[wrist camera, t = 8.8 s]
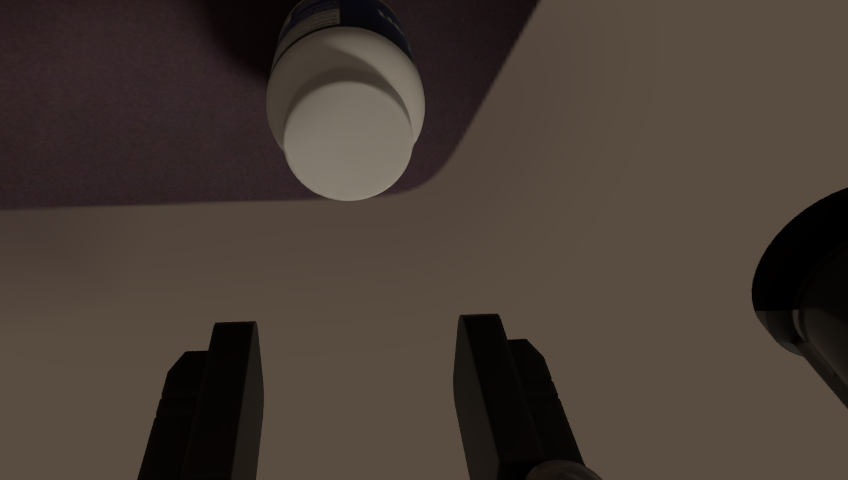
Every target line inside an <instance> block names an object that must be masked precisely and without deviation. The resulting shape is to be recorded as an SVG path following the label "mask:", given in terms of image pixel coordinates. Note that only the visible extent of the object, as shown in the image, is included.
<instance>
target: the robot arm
mask: <svg viewBox="0 0 848 480" xmlns="http://www.w3.org/2000/svg"><path fill="white" fill-rule="evenodd" d="M787 311H788V317H789V320H790V323H791V325H792V326H793V328H794V329H795V331H796V334H795V337H794V339H793V342H792V343H793V345H794V346H795V347H796V348H797V349H798V351H799V352H800V353H801V354H802V355H803V356H804V358H805V359H806V360H807V361H808V362H809V363H810V365H811V366H812V367H813V368H814V370H815V371H816V372H817V373H818V374H819V375H820V377H821V378H822V379H823V380H824V381H825V383H826V384H827V385H828V386H829V387H830V389H831V390H832V391H833V392H834V393H835V394H836V395H837V397H838V398H839V399H840V400H841V402H842V403H843V404H844V405H845V406H846V407H847V409H848V230H846V231H844V232H842V233H841V234H839V235H837V236H836V237H834V238H833V239H831V240H830V241H829V242H827V243H826V244H825V245H824V246H822V247H821V248H820V249H819V250H818V251H817V252H816V253H815V254H814V255H813V256H812V257H811V258H810V259H809V260H808V261H807V262H806V264H805V265H804V266H803V267H802V269H801V270H800V272H799V273H798V275H797V277H796V278H795V280H794V282H793V285H792V287H791V290H790V293H789V297H788V303H787ZM453 389H454V401H455V407H456V412H457V417H458V422H459V427H460V432H461V437H462V442H463V447H464V451H465V457H466V462H467V467H468V472H469V476H470V480H602V479H601V478H600V477H599V476H598V475H597V474H596V473H595V472H593V471H592V470H590V469H589V468H587V467H586V466H585V464H584V462H583V460H582V457H581V454H580V452H579V449H578V447H577V444H576V441H575V438H574V436H573V433H572V431H571V428H570V425H569V423H568V420H567V417H566V415H565V412H564V410H563V407H562V404H561V401H560V399H558V393H557V391H556V388H555V386H554V383H553V382H552V381H551V375H550V372H549V370H548V367H547V365H546V362H545V359H544V357H543V356H542V355H541V354H540V353H539V352H538V351H537V350H536V349H535V347H533V346H532V344H530V342H529V341H528V340H527V339H516V340H507V337H506V334H505V331H504V328H503V325H502V322H501V319H500V317H499V315H498V314H474V315H460V317H459V321H458V329H457V340H456V351H455V362H454V374H453ZM263 407H264V389H263V376H262V366H261V356H260V346H259V337H258V328H257V323H256V322H255V321H249V322H222V323H221V322H220V323H215V325H214V328H213V332H212V336H211V341H210V345H209V350H208V351H187V352H185V353H184V354H183V355H182V356H181V357H180V358H179V360H178V361H177V362H176V363H175V364H174V366H173V367H172V368H171V369H170V370H169V371H168V373H167V377H166V380H165V384H164V388H163V391H162V398H161V399H160V402H159V405H158V409H157V412H156V418H155V419H154V423H153V426H152V430H151V433H150V437H149V440H148V444H147V448H146V451H145V455H144V458H143V461H142V465H141V468H140V472H139V475H138V479H137V480H256V473H257V465H258V456H259V446H260V437H261V429H262V420H263Z"/></svg>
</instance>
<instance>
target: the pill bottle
mask: <svg viewBox="0 0 848 480" xmlns="http://www.w3.org/2000/svg"><path fill="white" fill-rule="evenodd" d="M266 109H267V118H268V122H269V126H270V128H271V131H272V133H273V135H274V138H275V140H276V141H277V143H278V145H279V146H280V148H281V149H282V150H283V151H284V154H285V157H286V160H287V163H288V165H289V167H290V168H291V170H292V172H293V173H294V175H295V176H296V177H297V178H298V179H299V180H300V182H301V183H302V184H304V185H305V186H306V187H307V188H309V189H310V190H312V191H313V192H315V193H317V194H319V195H322V196H324V197H327V198H331V199H335V200H342V201H356V200H361V199H366V198H369V197H372V196H375V195H377V194H379V193H381V192H383V191H385V190H386V189H388V188H389V187H390V186H391V185H392V184H394V183H395V182H396V181H397V180H398V179H399V177H400V176H401V175H402V173H403V172H404V170H405V169H406V167H407V165H408V162H409V160H410V157H411V153H412V148H413V146H414V144H415V142H416V140H417V138H418V136H419V134H420V131H421V128H422V124H423V120H424V113H425V100H424V92H423V87H422V83H421V78H420V76H419V72H418V70H417V67H416V63H415V60H414V57H413V54H412V50H411V48H410V45H409V42H408V39H407V36H406V33H405V30H404V28H403V26H402V24H401V22H400V20H399V19H398V17H397V16H396V14H395V13H394V12H393V11H392V9H391V8H390V7H389V6H388V5H387V4H386V3H385V2H384V1H382V0H301V1H300V2H299V3H298V4H297V5H296V6H295V7H294V8H293V9H292V11H291V12H290V13H289V15H288V17H287V18H286V20H285V22H284V24H283V27H282V29H281V32H280V35H279V39H278V43H277V47H276V52H275V56H274V60H273V65H272V69H271V73H270V78H269V82H268V87H267V96H266Z"/></svg>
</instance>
